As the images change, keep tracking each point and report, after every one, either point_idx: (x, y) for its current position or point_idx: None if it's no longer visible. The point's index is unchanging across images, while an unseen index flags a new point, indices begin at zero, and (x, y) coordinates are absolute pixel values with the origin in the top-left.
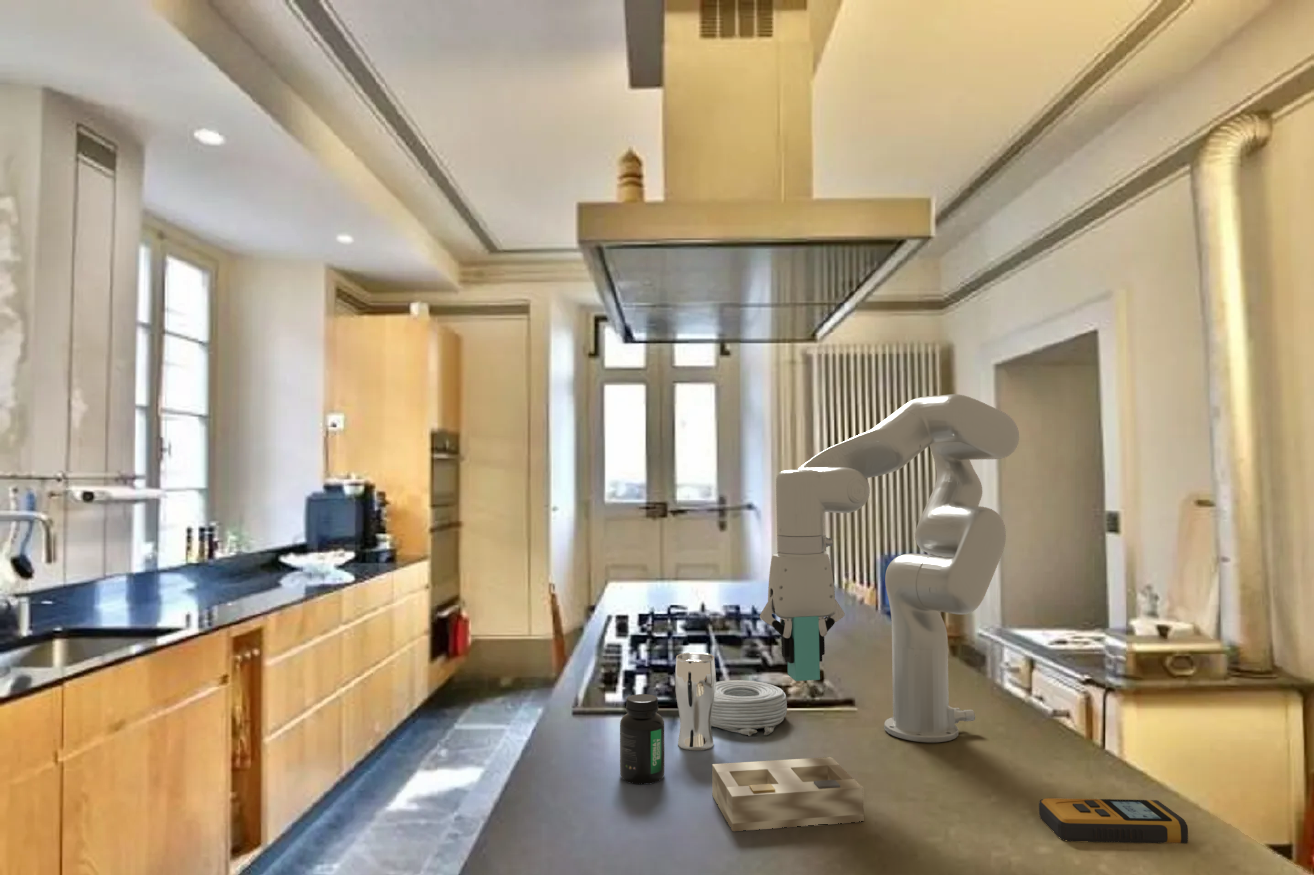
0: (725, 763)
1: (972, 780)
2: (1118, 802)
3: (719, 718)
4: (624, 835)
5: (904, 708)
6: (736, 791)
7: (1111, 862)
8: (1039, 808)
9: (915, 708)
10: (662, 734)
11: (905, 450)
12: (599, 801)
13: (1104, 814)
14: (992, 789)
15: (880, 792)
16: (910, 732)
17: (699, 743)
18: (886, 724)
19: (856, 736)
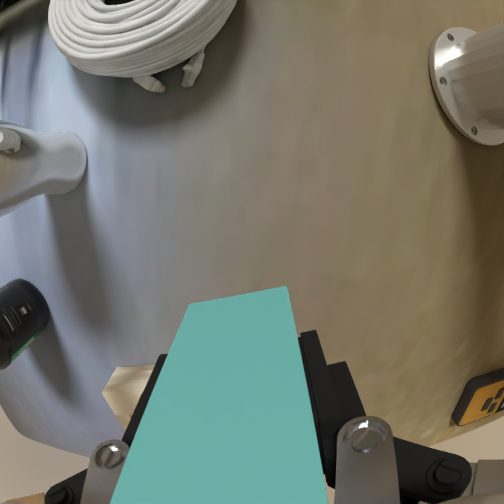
0: (117, 393)
1: (471, 298)
2: None
3: (87, 72)
4: (72, 426)
5: (484, 100)
6: None
7: (453, 435)
8: (470, 390)
9: (500, 118)
10: (16, 347)
11: None
12: (23, 365)
13: (489, 412)
14: (474, 323)
15: (346, 353)
16: (465, 117)
17: (61, 192)
18: (436, 66)
19: (376, 87)
